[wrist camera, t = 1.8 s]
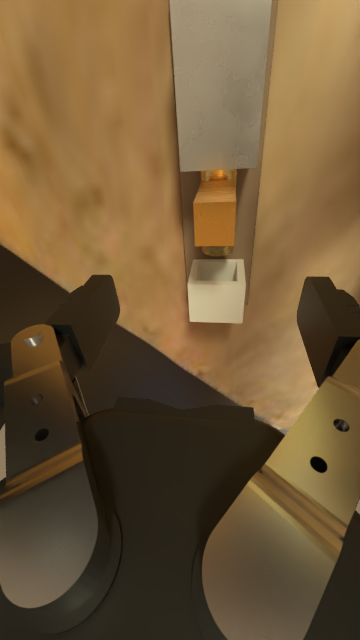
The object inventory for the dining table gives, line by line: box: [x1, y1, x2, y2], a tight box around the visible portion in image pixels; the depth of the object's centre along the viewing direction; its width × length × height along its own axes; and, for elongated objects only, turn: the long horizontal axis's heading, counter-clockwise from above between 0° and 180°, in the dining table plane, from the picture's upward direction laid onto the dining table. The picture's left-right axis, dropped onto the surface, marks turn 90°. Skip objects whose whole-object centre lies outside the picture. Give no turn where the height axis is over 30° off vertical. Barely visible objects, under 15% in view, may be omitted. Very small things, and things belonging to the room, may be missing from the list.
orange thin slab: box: [193, 169, 237, 256], centre depth 20 cm, size 3×17×10 cm, turn 4°
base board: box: [169, 0, 278, 304], centre depth 28 cm, size 8×28×1 cm, turn 4°
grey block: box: [170, 0, 272, 172], centre depth 20 cm, size 6×11×6 cm, turn 4°
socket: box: [187, 259, 246, 323], centre depth 31 cm, size 6×5×6 cm
